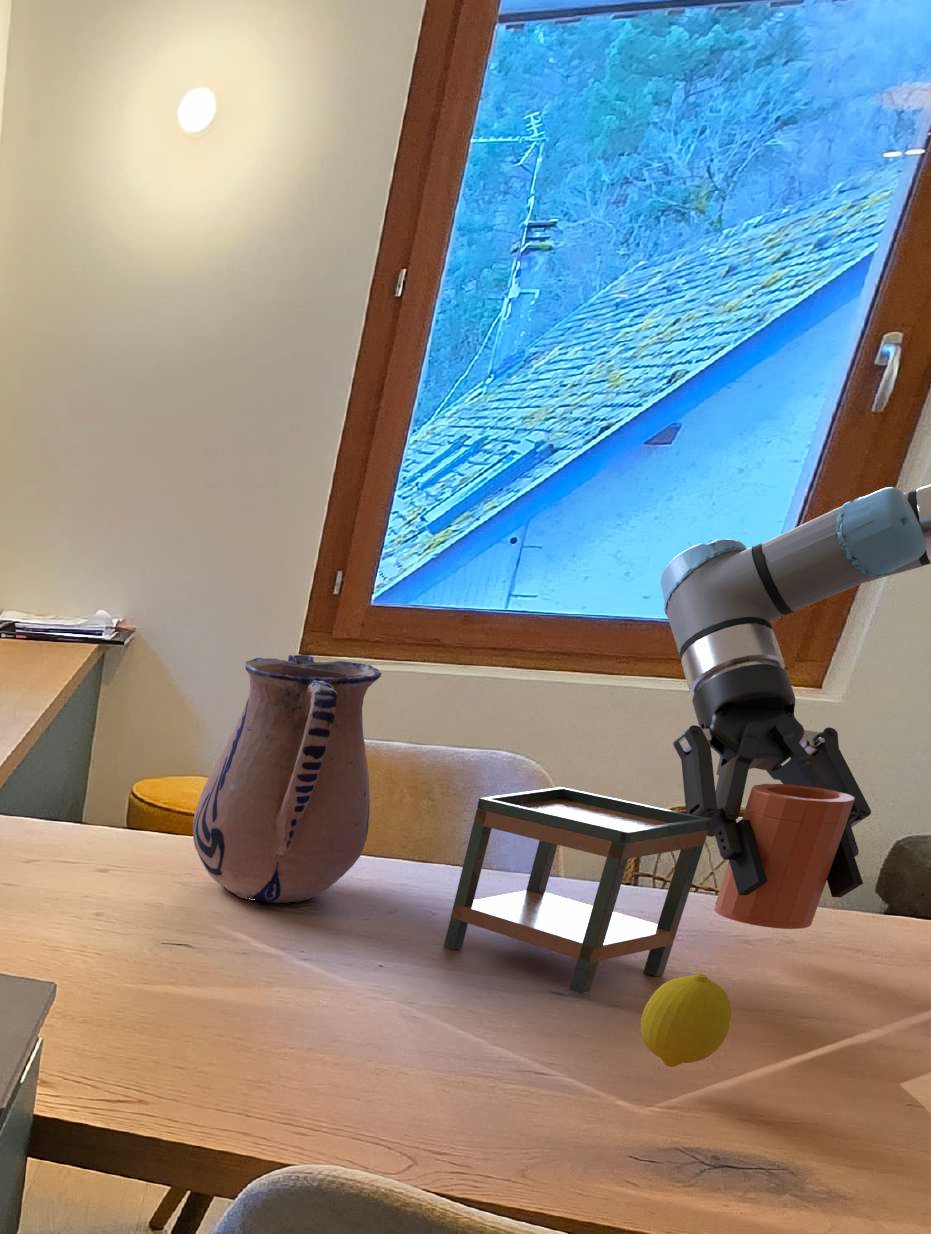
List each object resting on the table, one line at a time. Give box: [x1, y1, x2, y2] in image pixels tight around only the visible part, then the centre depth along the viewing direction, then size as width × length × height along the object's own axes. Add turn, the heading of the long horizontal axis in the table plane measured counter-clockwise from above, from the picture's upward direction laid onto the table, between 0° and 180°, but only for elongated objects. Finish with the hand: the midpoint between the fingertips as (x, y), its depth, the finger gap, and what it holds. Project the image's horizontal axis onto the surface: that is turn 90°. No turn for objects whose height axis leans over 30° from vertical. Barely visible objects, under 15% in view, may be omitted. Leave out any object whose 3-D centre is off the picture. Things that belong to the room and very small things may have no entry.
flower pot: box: [714, 783, 855, 930], centre depth 123 cm, size 7×7×12 cm
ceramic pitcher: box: [192, 654, 382, 904], centre depth 140 cm, size 18×21×25 cm
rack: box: [443, 786, 712, 995], centre depth 124 cm, size 14×12×15 cm
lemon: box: [640, 972, 732, 1068], centre depth 103 cm, size 6×6×8 cm
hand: (800, 889), depth 121 cm, fingers closed on flower pot, 7 cm apart
